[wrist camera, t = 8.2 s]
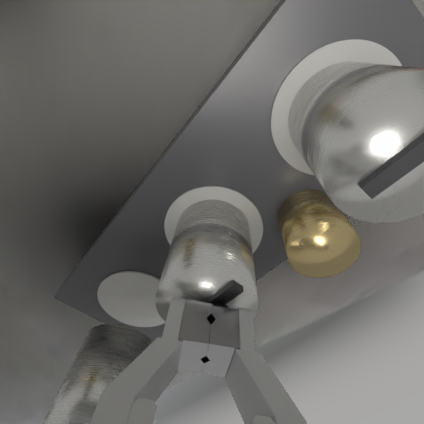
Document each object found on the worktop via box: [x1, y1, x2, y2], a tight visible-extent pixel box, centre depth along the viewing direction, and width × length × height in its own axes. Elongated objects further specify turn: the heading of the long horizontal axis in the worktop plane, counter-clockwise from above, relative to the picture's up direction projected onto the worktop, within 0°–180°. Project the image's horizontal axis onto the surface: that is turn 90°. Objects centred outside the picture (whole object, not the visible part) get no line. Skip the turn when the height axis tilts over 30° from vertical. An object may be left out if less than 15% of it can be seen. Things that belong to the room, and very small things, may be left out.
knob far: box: [43, 324, 152, 424], centre depth 13 cm, size 4×4×5 cm
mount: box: [54, 0, 424, 342], centre depth 16 cm, size 24×9×4 cm, turn 140°
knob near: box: [288, 61, 424, 223], centre depth 9 cm, size 4×4×5 cm
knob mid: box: [155, 200, 258, 322], centre depth 12 cm, size 4×4×5 cm
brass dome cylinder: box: [277, 189, 361, 278], centre depth 13 cm, size 3×3×3 cm
